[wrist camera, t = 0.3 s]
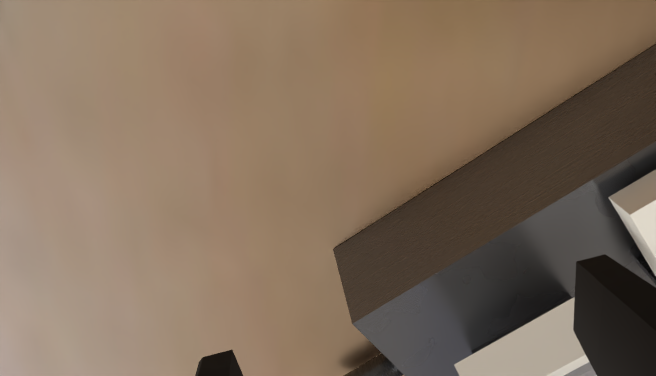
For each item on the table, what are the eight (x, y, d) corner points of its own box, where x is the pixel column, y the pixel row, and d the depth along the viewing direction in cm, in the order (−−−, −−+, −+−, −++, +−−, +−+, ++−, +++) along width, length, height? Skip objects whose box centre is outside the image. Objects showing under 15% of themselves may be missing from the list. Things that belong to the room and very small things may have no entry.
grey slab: (921, 145, 26) (1065, 219, 21) (399, 431, 31) (429, 537, 27) (902, -113, 19) (1102, -83, 15) (251, 301, 25) (259, 412, 20)
